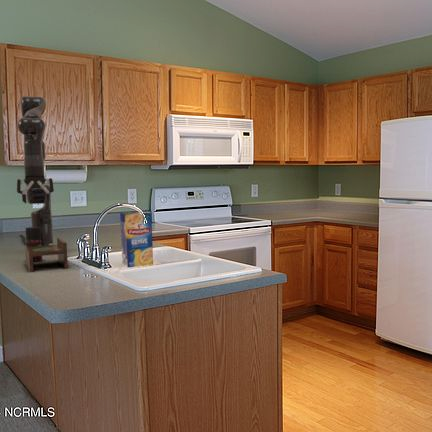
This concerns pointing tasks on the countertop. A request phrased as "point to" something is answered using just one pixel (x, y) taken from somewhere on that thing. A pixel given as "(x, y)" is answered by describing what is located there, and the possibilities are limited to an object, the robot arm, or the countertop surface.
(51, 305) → the countertop surface
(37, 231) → the deodorant
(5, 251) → the countertop surface
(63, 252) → the shelf
